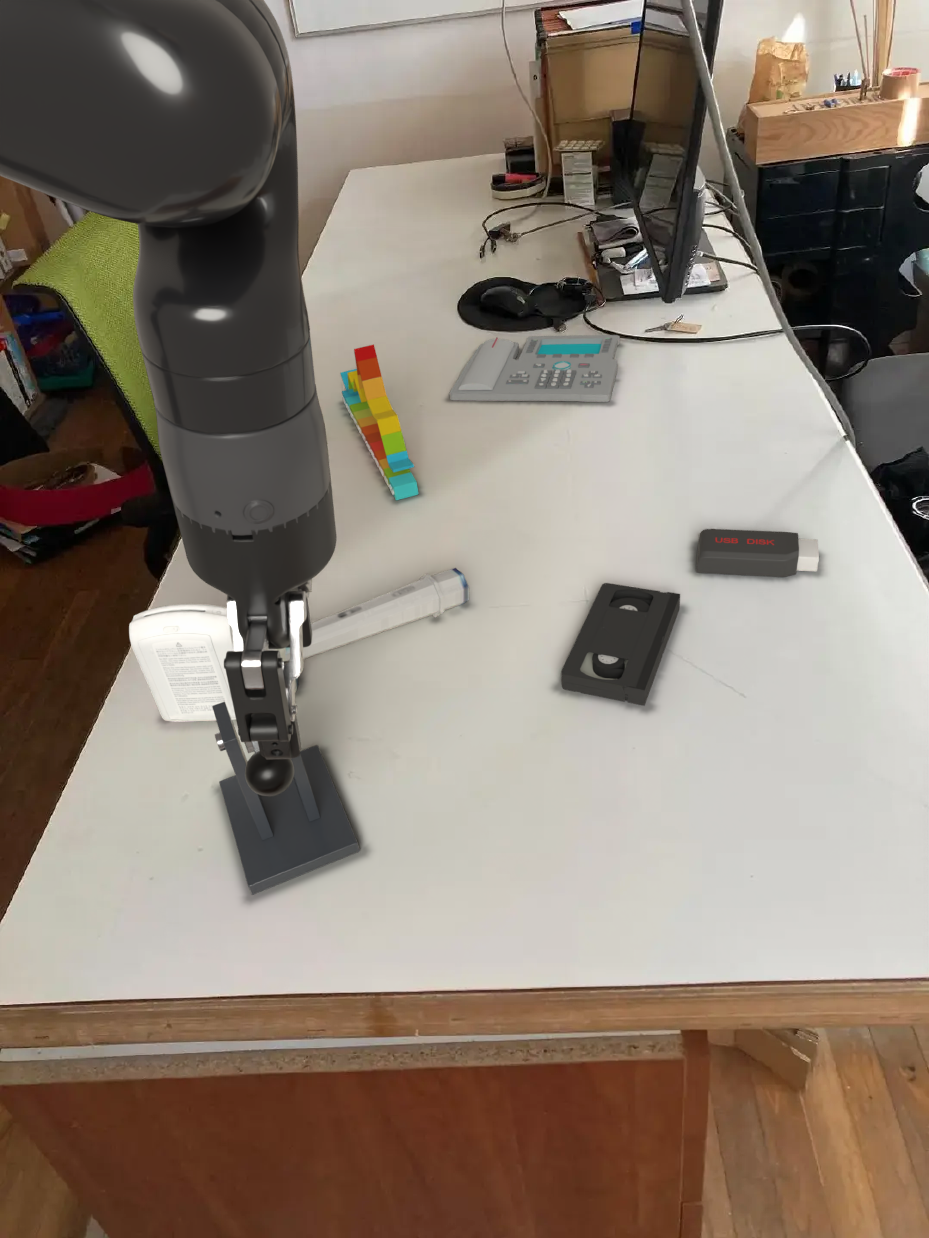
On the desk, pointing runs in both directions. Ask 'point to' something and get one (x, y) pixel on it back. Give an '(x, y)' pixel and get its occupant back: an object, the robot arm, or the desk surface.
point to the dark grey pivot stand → (283, 816)
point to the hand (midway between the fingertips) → (288, 695)
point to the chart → (378, 422)
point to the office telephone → (541, 370)
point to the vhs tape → (621, 643)
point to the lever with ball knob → (267, 772)
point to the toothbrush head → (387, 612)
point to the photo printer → (184, 659)
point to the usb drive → (755, 553)
